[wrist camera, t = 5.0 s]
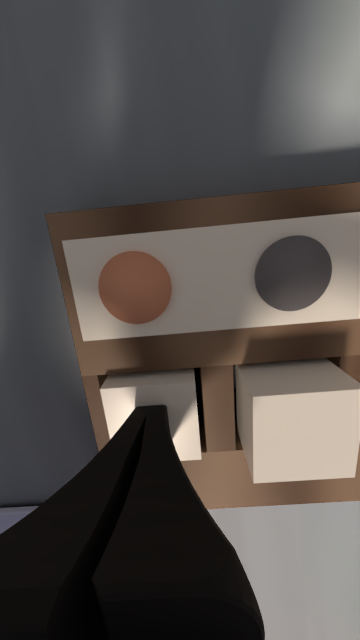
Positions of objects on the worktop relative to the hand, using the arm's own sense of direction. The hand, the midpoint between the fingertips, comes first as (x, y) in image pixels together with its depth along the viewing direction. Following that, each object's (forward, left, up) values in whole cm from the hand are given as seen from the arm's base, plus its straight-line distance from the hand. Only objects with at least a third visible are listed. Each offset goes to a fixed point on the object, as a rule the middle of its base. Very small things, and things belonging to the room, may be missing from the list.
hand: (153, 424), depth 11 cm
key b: (+6, 0, -2) cm, 6 cm away
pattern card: (+6, +6, -1) cm, 9 cm away
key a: (0, 0, -3) cm, 3 cm away
